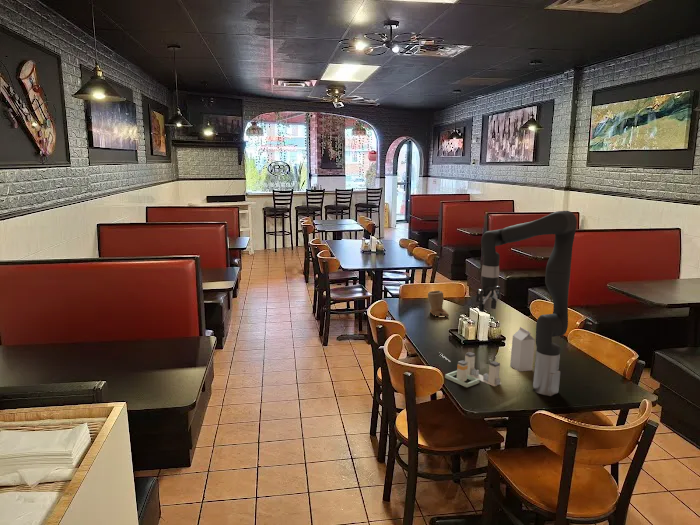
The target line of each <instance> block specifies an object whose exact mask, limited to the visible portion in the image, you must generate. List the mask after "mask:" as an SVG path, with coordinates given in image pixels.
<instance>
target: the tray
mask: <svg viewBox="0 0 700 525" xmlns="http://www.w3.org/2000/svg"><path fill="white" fill-rule="evenodd" d="M455 376H457V370H454V371H451V372H449V373H445V374H444V378H445V379H446V380H448V381H451V382H453V383H456V384H458V385H461V386H463V387H464V388H469V387H472V386H475V385H477V384H479V383H480V380H479V379H477V378H475V377H472V376H470V375H468V374H467V380H469V382H466V381H464V382H463V381H461V380H459V379H457V377H455Z"/></svg>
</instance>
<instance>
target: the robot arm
mask: <svg viewBox="0 0 700 525" xmlns="http://www.w3.org/2000/svg"><path fill="white" fill-rule="evenodd" d="M577 220H578V219H577V216H576V215H575V214H574V212H572V211H570V210H558V211H554V212H552V213H549V214H548V215H545V216H543V217H541V218H538V219H535V220H532V221H528V222H527V221H526V222H524V223H517V224H514V225H510V226H506V227H504V228H500V229H494V230H487V231H485V232H484V233H483V234H482V236H481V241H480V243H481V249H482V253H483V259H482V267H481V276H480V285H481V287H482V288H481V289H480V288H477V291H476V299H475V300H476V301H475V302H476V303H478V311H479V312H480V313H481V312H482V313H484V312H485V303H486V301H488V300H489V299H491V303H490V308H491V309H492V310H496V309H497V301H498V300H500V299H501V290H502V288H501V286H499V280H500V279H499V278H500V277H499V276H500V259H501V258H500V253H499V252H497V251H496V250H497V249H496V247H500V246H502V245H503V246H504V245H506V244H511V243H512V244H513V243H515V242H521V241H524V240H527V239H531V238H533V237H538V236H546V235H555V236H554V245H553V248H552V251H551V253H550V255H549V256H548V257H549V258H548V260H547V263H546V267H545V276H544V277H545V278H544V283H545V287H546V288H547V290H548V292H549V295H551V298H552V302H553V309H552V310H553V311H552V313H548V314H545V313H544V314H541V315H539V316H538V318H537V319H536V320H537V321H536V324H535V345H536V351H535V360H534V362H535V363H534V370H533V372H534V373H533V380H532V381H533V383H532V387H533V389H532V390H533V392H534V393H537V394H540V395H543V396H548V397H553V396H554V395H556V394H558V393H559V388H560V379H561V370H559V368H560V360H561V350H562V349H561V346H560V345H558V344H557V343H555V342H553V337H562V336H564V335H566V333H567V331H568V328H569V327H568V326H569V293H570V292H569V290H570V289H569V288H570V281H571V272H572V271H571V270H572V269H571V268H572V267H571V266H572V260H573V259H572V257H573V247H574V246H573V244H574V240H575V235H576V231H577V226H578V225H577V224H578V221H577Z"/></svg>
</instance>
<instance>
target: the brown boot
mask: <svg viewBox="0 0 700 525" xmlns="http://www.w3.org/2000/svg"><path fill="white" fill-rule="evenodd" d="M427 298H428V302H429V304H430V310H429V312H430V313H431V314H432V315H433V316H434V315H436V316H446V317H445V318H448V317H450V315H449V313H448V312H447V311H446V310H445V309H444V308H443V304H444V292H443V291H441V290H432V291H428V293H427ZM436 316H435V317H436Z"/></svg>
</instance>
